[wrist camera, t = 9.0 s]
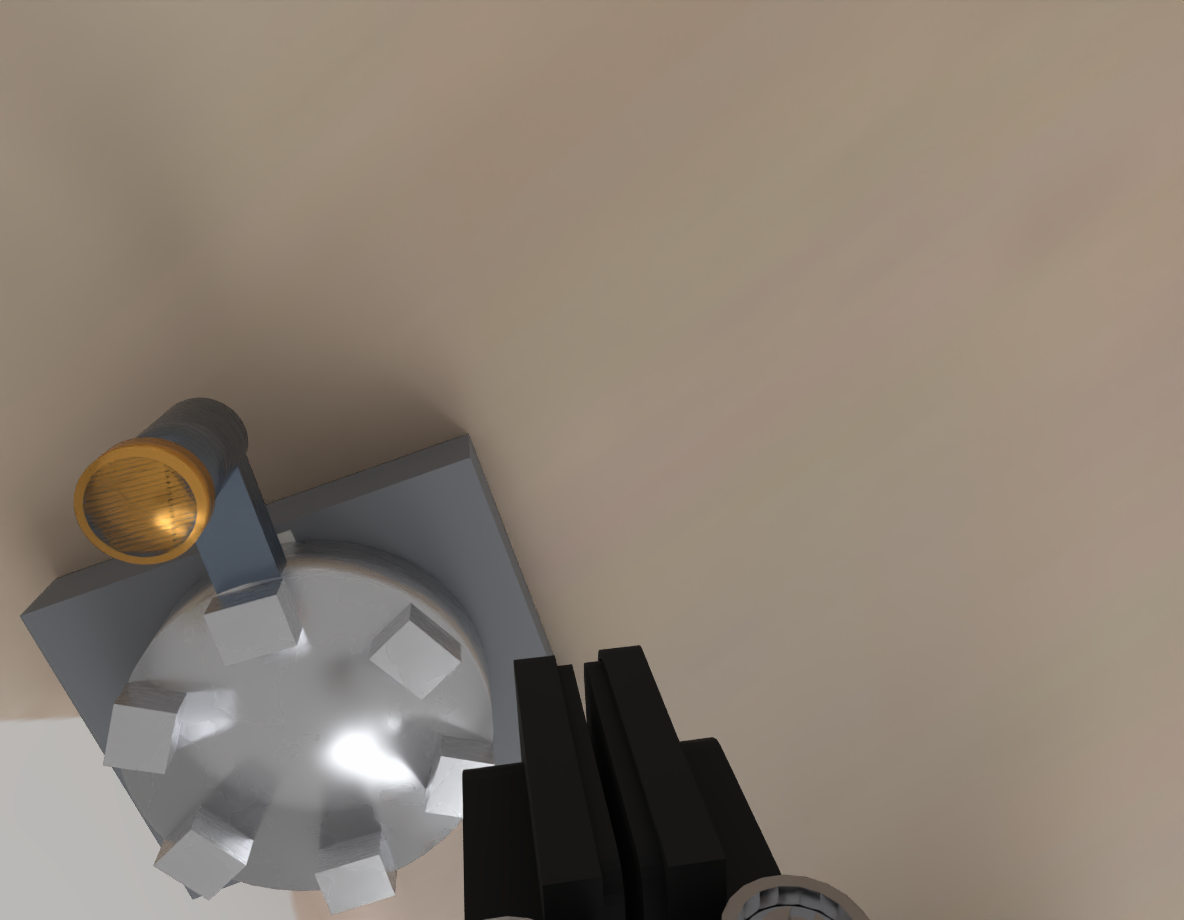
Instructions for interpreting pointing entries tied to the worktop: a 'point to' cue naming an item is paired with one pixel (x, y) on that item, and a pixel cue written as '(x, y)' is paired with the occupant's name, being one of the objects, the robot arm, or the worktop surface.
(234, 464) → the gold-rimmed tube plate
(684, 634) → the worktop surface
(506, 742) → the grey rectangular base plate
